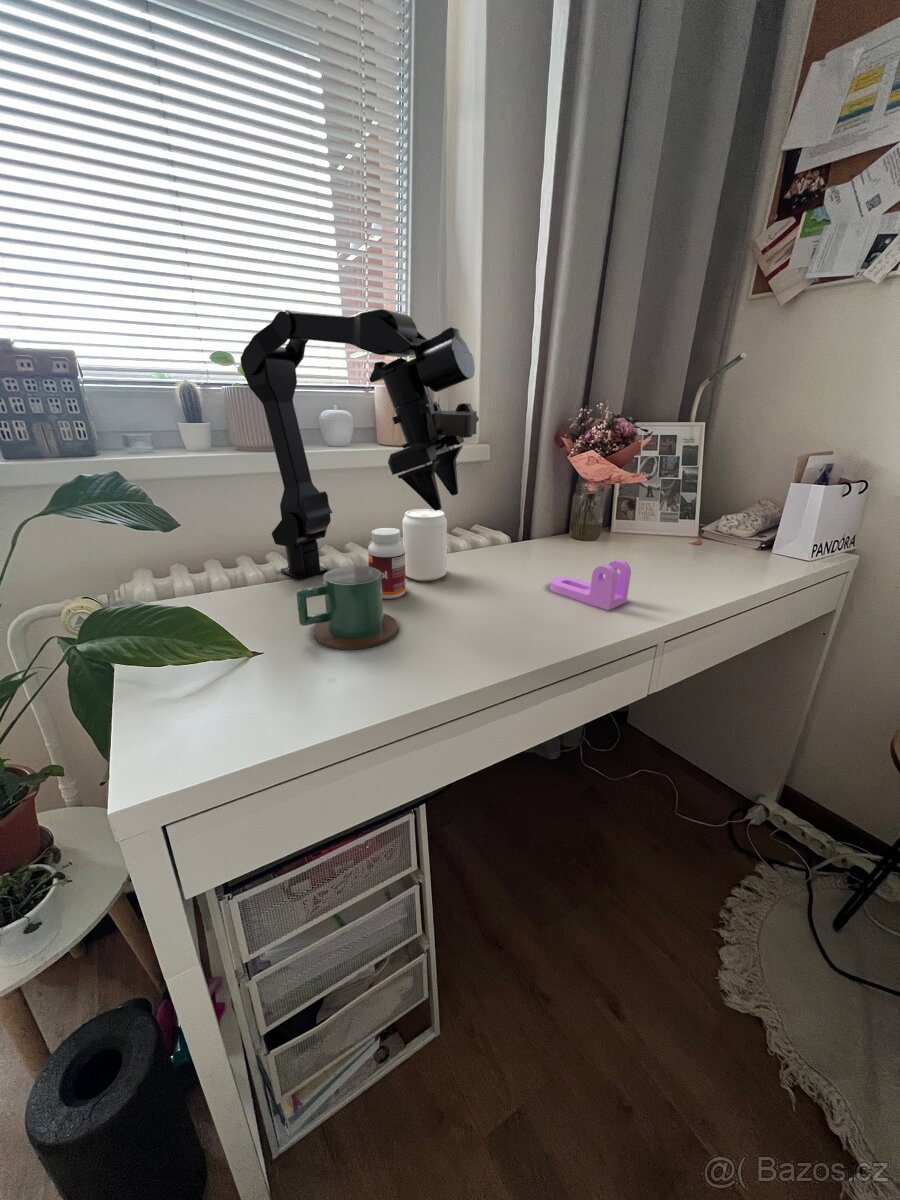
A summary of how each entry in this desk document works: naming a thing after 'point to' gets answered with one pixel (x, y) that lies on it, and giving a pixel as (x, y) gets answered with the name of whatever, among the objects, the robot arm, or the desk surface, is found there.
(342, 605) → the mug
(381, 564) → the pill bottle
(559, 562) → the desk surface
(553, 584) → the bracket
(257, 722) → the desk surface
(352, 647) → the coaster
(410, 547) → the beverage can
